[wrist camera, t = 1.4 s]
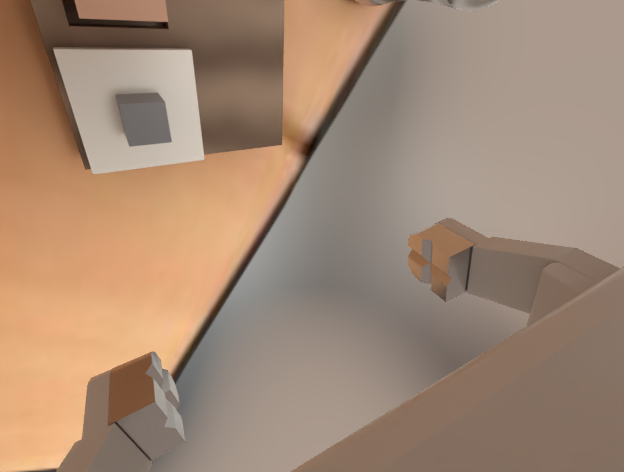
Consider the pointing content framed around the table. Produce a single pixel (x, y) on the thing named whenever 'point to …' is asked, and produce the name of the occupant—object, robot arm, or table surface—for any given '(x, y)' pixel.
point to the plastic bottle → (442, 3)
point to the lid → (133, 105)
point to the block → (123, 10)
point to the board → (195, 61)
